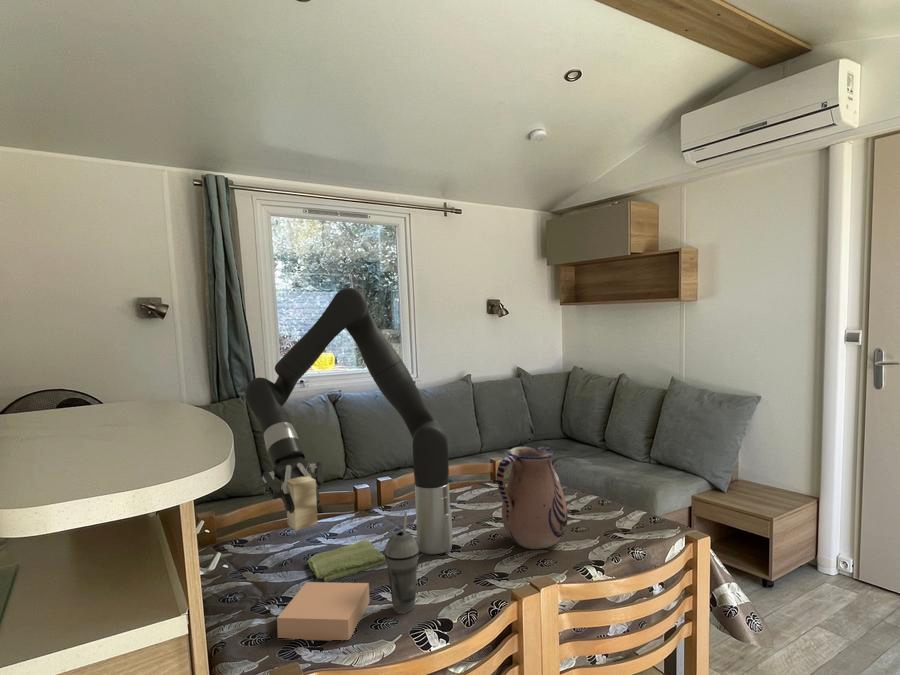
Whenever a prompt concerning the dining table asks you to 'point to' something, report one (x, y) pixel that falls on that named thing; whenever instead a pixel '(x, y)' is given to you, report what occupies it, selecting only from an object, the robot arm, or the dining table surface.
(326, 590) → the terracotta plinth
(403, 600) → the beverage cup
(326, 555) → the washcloth
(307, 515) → the birch block
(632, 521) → the dining table surface
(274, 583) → the dining table surface
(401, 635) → the dining table surface
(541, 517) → the ceramic pitcher
